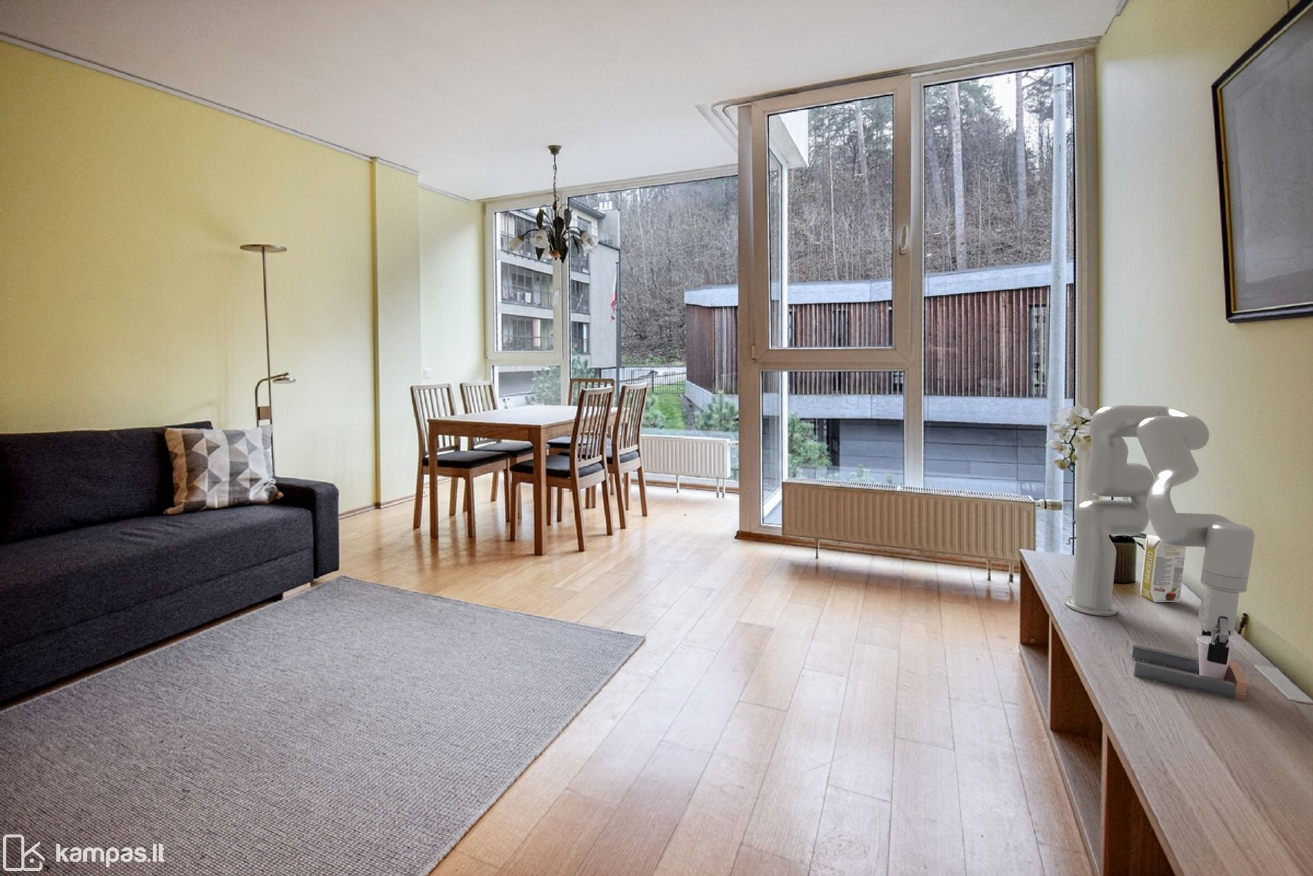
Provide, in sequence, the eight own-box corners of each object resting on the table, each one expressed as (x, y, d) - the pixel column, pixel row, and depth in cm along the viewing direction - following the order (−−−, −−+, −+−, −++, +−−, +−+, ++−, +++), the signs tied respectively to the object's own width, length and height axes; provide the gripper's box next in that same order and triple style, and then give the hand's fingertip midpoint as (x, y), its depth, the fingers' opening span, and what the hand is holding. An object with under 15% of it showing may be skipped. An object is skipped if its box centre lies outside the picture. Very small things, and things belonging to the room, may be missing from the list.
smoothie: (1184, 678, 141) (1192, 619, 139) (1202, 673, 144) (1210, 615, 142) (1218, 692, 135) (1226, 631, 134) (1236, 687, 138) (1244, 626, 136)
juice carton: (1184, 604, 184) (1191, 541, 182) (1154, 604, 184) (1161, 541, 182) (1163, 594, 192) (1170, 534, 189) (1135, 594, 192) (1141, 534, 189)
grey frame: (1131, 656, 152) (1133, 640, 151) (1234, 678, 141) (1237, 662, 141) (1134, 676, 142) (1136, 659, 142) (1245, 701, 132) (1247, 684, 131)
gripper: (1196, 564, 145) (1186, 634, 148) (1206, 588, 131) (1196, 664, 134) (1239, 571, 141) (1229, 643, 144) (1255, 596, 127) (1243, 675, 130)
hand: (1213, 653), depth 139 cm, fingers open, 9 cm apart
